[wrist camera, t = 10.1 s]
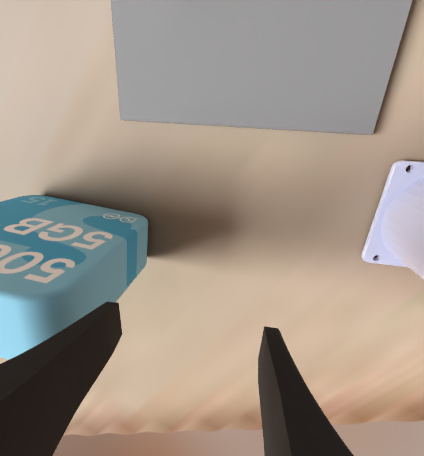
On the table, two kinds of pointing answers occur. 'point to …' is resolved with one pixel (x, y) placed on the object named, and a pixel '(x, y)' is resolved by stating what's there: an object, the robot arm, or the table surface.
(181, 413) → the table surface
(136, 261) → the data package
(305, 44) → the desk mat
